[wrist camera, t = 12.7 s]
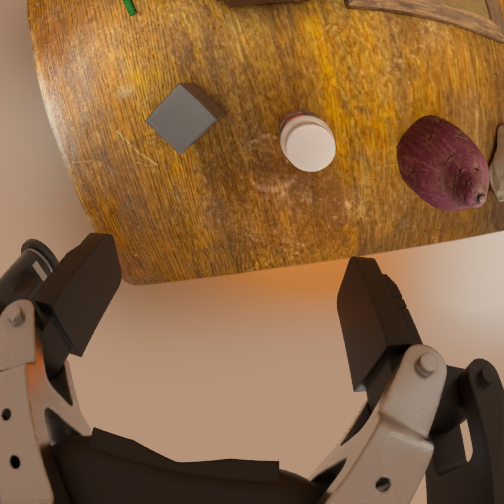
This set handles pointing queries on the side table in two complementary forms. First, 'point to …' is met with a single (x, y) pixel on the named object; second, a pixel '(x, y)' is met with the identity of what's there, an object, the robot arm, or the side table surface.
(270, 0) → the wooden toy train
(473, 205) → the vegetable
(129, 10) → the decorative flower
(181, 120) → the grey block
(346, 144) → the side table surface
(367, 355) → the robot arm
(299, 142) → the pill bottle
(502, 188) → the decorative stone
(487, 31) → the picture frame
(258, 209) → the side table surface
